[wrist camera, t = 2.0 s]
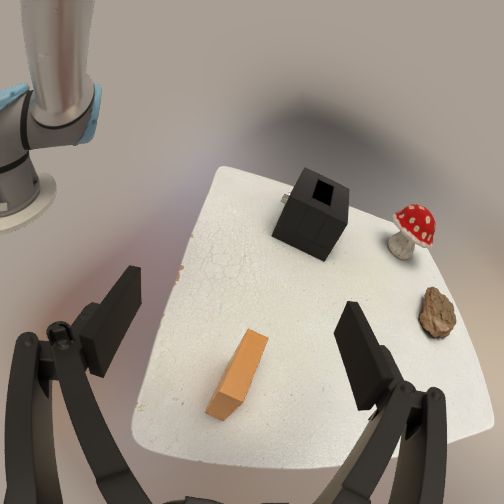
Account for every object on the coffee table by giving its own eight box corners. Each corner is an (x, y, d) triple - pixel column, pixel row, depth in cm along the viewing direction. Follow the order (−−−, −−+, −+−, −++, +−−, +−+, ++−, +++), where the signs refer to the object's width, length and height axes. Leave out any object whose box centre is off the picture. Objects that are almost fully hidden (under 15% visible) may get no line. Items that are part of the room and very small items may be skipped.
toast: (204, 412, 28) (218, 391, 23) (229, 361, 34) (248, 328, 29) (223, 421, 28) (243, 402, 23) (246, 368, 34) (268, 337, 29)
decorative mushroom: (391, 232, 78) (416, 193, 68) (422, 264, 70) (451, 225, 61) (368, 238, 70) (397, 192, 60) (403, 275, 62) (438, 230, 53)
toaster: (265, 233, 57) (283, 192, 50) (285, 198, 71) (300, 164, 64) (324, 261, 56) (347, 224, 50) (331, 220, 70) (349, 188, 63)
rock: (443, 353, 46) (459, 340, 43) (411, 324, 50) (426, 309, 47) (449, 320, 55) (462, 307, 52) (421, 294, 59) (433, 280, 56)
